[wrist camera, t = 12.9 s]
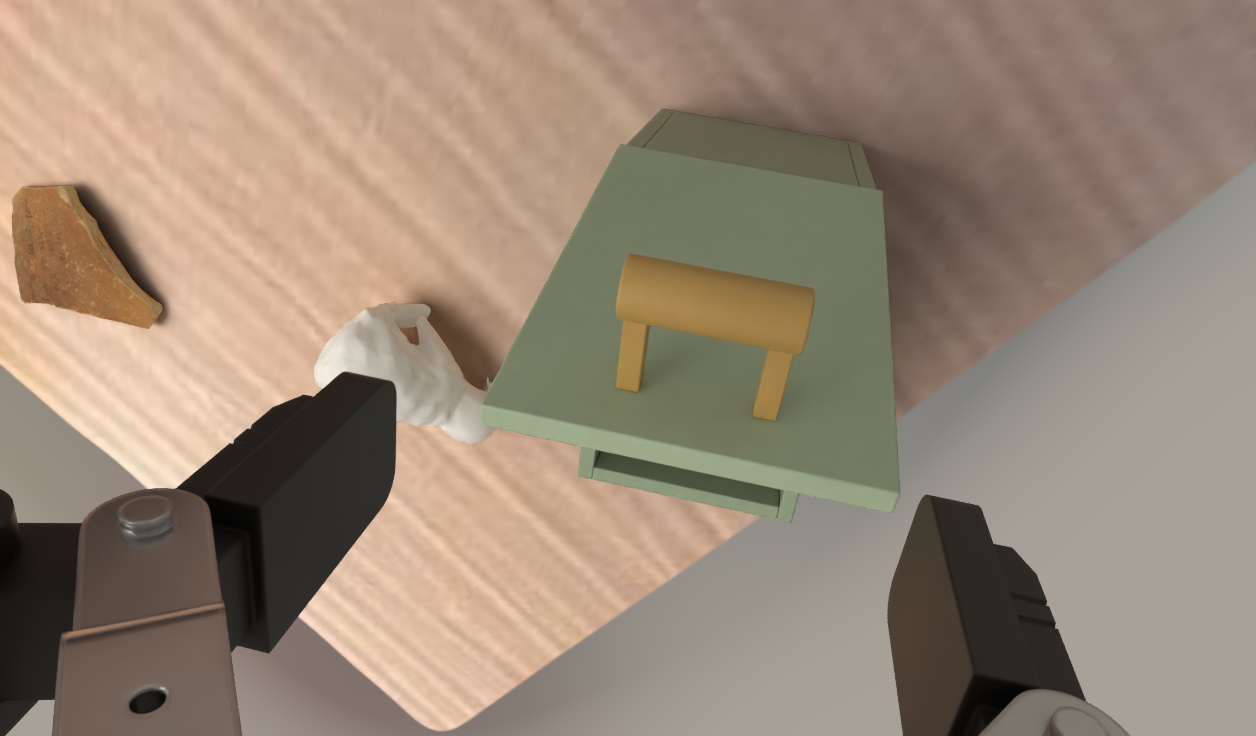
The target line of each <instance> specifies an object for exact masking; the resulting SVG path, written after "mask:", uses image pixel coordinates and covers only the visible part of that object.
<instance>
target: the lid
mask: <svg viewBox="0 0 1256 736" xmlns="http://www.w3.org/2000/svg"><path fill="white" fill-rule="evenodd" d="M480 410H481V425H483V426H488V427H492V428H497V429H502V430H506V431H511V432H516V433H520V434H525V435H529V436H534V437H539V438H543V439H548V440H553V441H557V442H562V443H567V444H571V445H576V446H581V447H585V448H590V449H594V450H599V451H604V452H608V453H613V454H618V455H622V456H627V457H632V458H636V459H641V460H645V461H650V462H655V463H659V464H664V465H669V466H673V467H678V468H683V469H687V470H692V471H697V472H701V473H706V474H710V475H715V476H720V477H724V478H729V479H734V480H738V481H743V482H748V483H752V484H757V485H762V486H766V487H771V488H775V489H780V490H785V491H789V492H794V493H799V494H804V495H808V496H813V497H817V498H822V499H827V500H831V501H836V502H840V503H845V504H850V505H855V506H859V507H864V508H869V509H873V510H878V511H882V512H887V513H892V512H893V511H894V509H895V506H896V504H897V502H898V499H899V497H900V480H899V463H898V446H897V429H896V411H895V394H894V377H893V360H892V343H891V326H890V309H889V292H888V275H887V258H886V240H885V223H884V206H883V192H882V191H880V190H875V189H869V188H864V187H858V186H852V185H847V184H841V183H835V182H830V181H824V180H819V179H813V178H807V177H802V176H796V175H791V174H785V173H779V172H774V171H768V170H762V169H757V168H751V167H746V166H740V165H734V164H729V163H723V162H717V161H712V160H706V159H701V158H695V157H689V156H684V155H678V154H673V153H667V152H661V151H656V150H650V149H644V148H639V147H633V146H628V145H622V144H620V145H619V147H618V149H617V150H616V152H615V154H614V156H613V158H612V160H611V162H610V164H609V165H608V167H607V169H606V171H605V173H604V175H603V177H602V179H601V180H600V182H599V184H598V186H597V188H596V190H595V192H594V193H593V195H592V197H591V199H590V201H589V203H588V205H587V207H586V208H585V210H584V212H583V214H582V216H581V218H580V220H579V222H578V223H577V225H576V227H575V229H574V231H573V233H572V235H571V237H570V238H569V240H568V242H567V244H566V246H565V248H564V250H563V252H562V253H561V255H560V257H559V259H558V261H557V263H556V265H555V267H554V268H553V270H552V272H551V274H550V276H549V278H548V280H547V282H546V283H545V285H544V287H543V289H542V291H541V293H540V295H539V296H538V298H537V300H536V302H535V304H534V306H533V308H532V310H531V311H530V313H529V315H528V317H527V319H526V321H525V323H524V325H523V326H522V328H521V330H520V332H519V334H518V336H517V338H516V340H515V341H514V343H513V345H512V347H511V349H510V351H509V353H508V355H507V356H506V358H505V360H504V362H503V364H502V366H501V368H500V370H499V371H498V373H497V375H496V377H495V379H494V381H493V383H492V385H491V386H490V388H489V390H488V392H487V394H486V396H485V398H484V399H483V401H482V403H481V405H480Z"/></svg>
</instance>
